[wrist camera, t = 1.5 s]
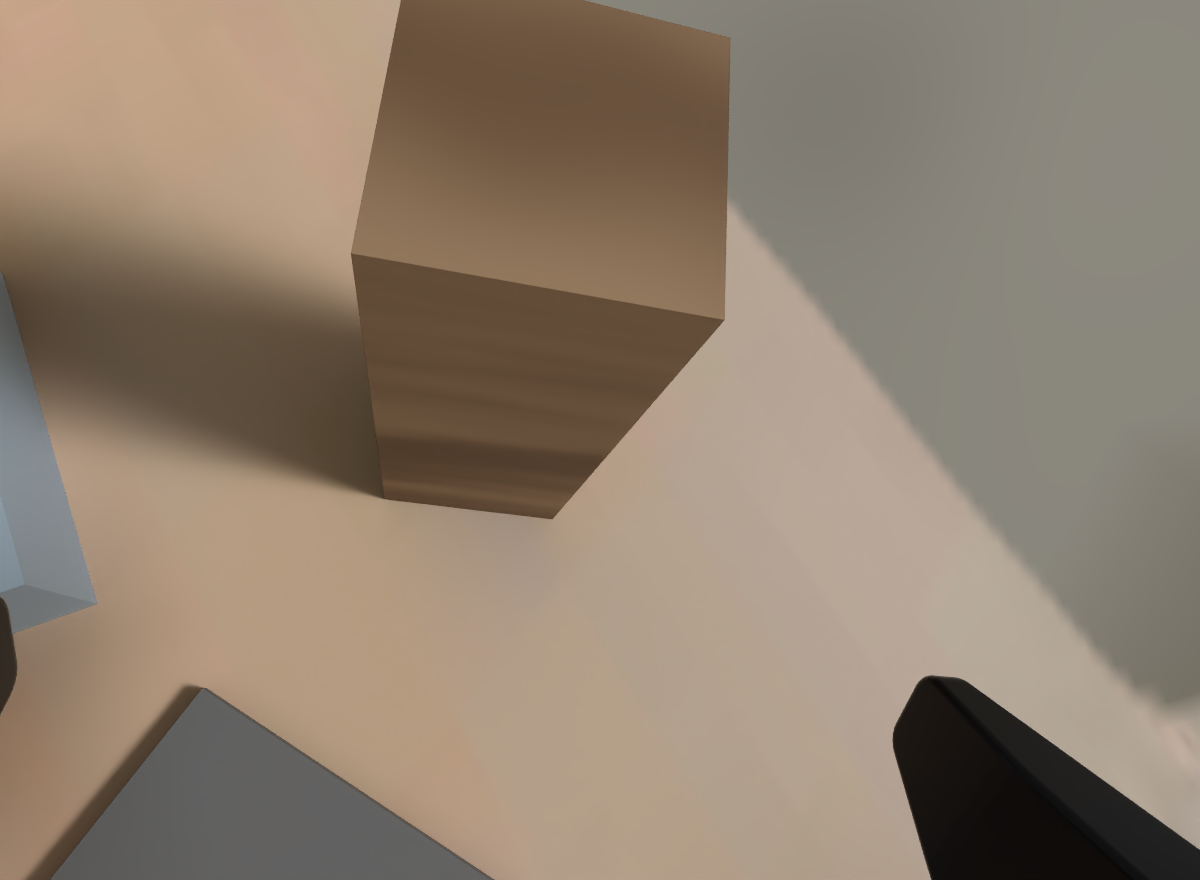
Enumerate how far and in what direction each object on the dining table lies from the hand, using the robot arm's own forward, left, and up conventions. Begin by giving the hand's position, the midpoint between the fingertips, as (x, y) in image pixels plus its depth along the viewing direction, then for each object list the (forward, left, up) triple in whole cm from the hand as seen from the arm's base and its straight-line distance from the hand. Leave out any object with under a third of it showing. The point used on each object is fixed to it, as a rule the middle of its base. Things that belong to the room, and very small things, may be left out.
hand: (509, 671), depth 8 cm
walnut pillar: (+6, +3, -13) cm, 14 cm away
